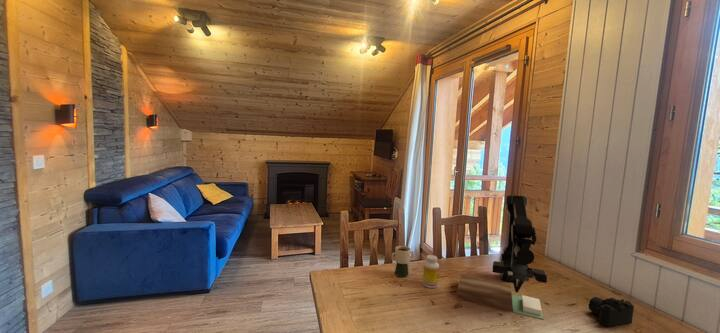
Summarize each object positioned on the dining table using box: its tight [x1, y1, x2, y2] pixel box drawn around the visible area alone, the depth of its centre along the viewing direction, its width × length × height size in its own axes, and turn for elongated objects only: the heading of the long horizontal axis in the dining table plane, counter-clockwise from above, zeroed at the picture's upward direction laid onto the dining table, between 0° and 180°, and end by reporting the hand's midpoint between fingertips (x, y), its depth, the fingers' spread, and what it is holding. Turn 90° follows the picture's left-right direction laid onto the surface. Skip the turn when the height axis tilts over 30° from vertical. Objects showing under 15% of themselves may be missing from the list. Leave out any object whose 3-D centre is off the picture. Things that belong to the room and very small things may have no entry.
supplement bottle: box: [422, 254, 440, 289], centre depth 132 cm, size 7×7×13 cm
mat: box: [512, 293, 544, 320], centre depth 118 cm, size 14×10×1 cm
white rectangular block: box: [522, 294, 542, 316], centre depth 117 cm, size 9×6×2 cm, turn 154°
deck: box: [456, 274, 513, 312], centre depth 124 cm, size 14×20×4 cm
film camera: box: [588, 296, 635, 329], centre depth 112 cm, size 15×10×9 cm, turn 106°
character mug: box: [391, 245, 414, 278], centre depth 140 cm, size 11×7×13 cm, turn 104°
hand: (516, 291), depth 119 cm, fingers closed
